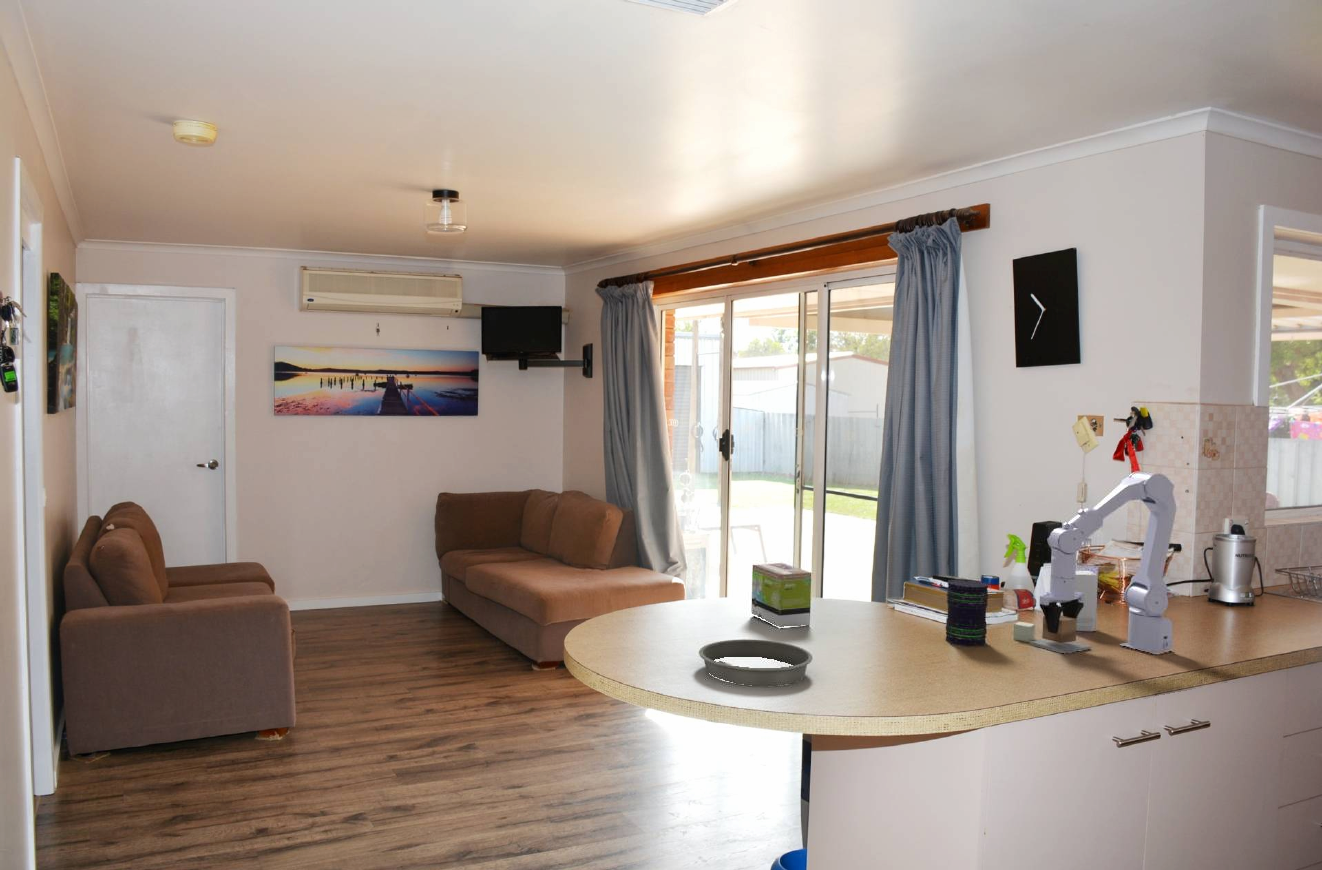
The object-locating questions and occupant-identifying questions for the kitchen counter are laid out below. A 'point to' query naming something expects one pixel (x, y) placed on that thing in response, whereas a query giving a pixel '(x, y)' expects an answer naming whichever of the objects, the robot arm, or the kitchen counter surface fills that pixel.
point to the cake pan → (756, 649)
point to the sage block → (1024, 631)
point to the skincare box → (1086, 600)
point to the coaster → (1059, 646)
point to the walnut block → (1061, 630)
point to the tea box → (781, 594)
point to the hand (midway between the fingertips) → (1060, 631)
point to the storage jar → (966, 612)
